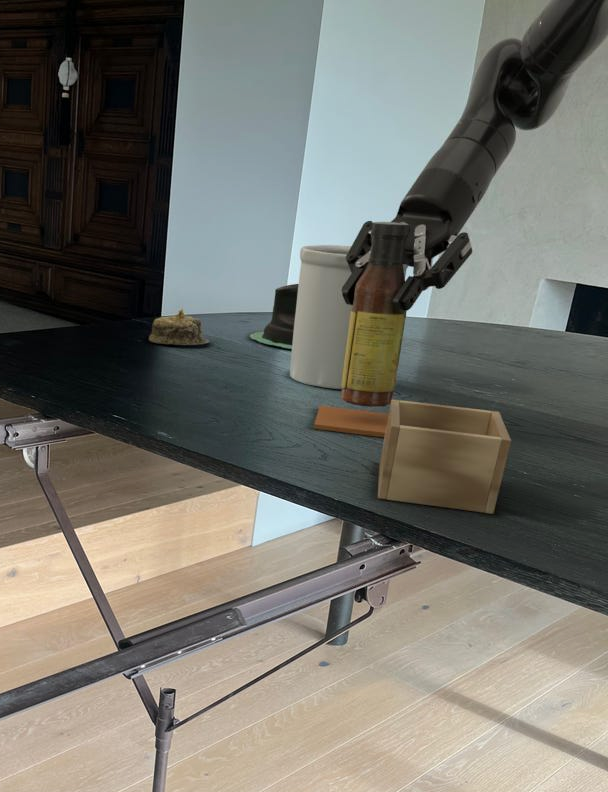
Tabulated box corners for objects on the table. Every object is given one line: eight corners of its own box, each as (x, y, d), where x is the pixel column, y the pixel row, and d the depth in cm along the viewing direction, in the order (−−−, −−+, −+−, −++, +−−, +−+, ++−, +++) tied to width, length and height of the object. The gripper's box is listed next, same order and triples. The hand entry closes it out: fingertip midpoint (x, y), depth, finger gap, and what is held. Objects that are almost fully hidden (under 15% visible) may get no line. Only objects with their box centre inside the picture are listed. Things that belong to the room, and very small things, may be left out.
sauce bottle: (401, 408, 117) (436, 226, 108) (357, 410, 115) (388, 224, 105) (370, 394, 122) (400, 220, 113) (327, 396, 120) (354, 218, 111)
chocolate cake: (360, 331, 177) (387, 356, 160) (264, 375, 181) (279, 405, 164) (332, 250, 171) (356, 267, 153) (232, 298, 175) (245, 320, 157)
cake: (148, 349, 157) (147, 313, 154) (149, 339, 166) (148, 305, 163) (211, 348, 156) (211, 313, 154) (208, 338, 165) (209, 304, 163)
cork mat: (400, 419, 123) (400, 415, 123) (400, 439, 114) (401, 434, 114) (319, 410, 125) (319, 405, 125) (313, 429, 116) (314, 423, 116)
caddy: (483, 479, 102) (499, 411, 99) (493, 514, 92) (511, 440, 89) (379, 465, 104) (391, 399, 101) (377, 498, 94) (391, 425, 91)
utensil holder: (275, 383, 137) (293, 248, 130) (292, 364, 150) (309, 241, 142) (383, 397, 134) (408, 259, 126) (390, 376, 147) (413, 250, 139)
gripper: (385, 161, 116) (309, 272, 114) (498, 170, 107) (418, 290, 105) (402, 211, 122) (330, 317, 120) (510, 222, 113) (434, 337, 111)
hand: (371, 304), depth 112 cm, fingers closed on sauce bottle, 6 cm apart
